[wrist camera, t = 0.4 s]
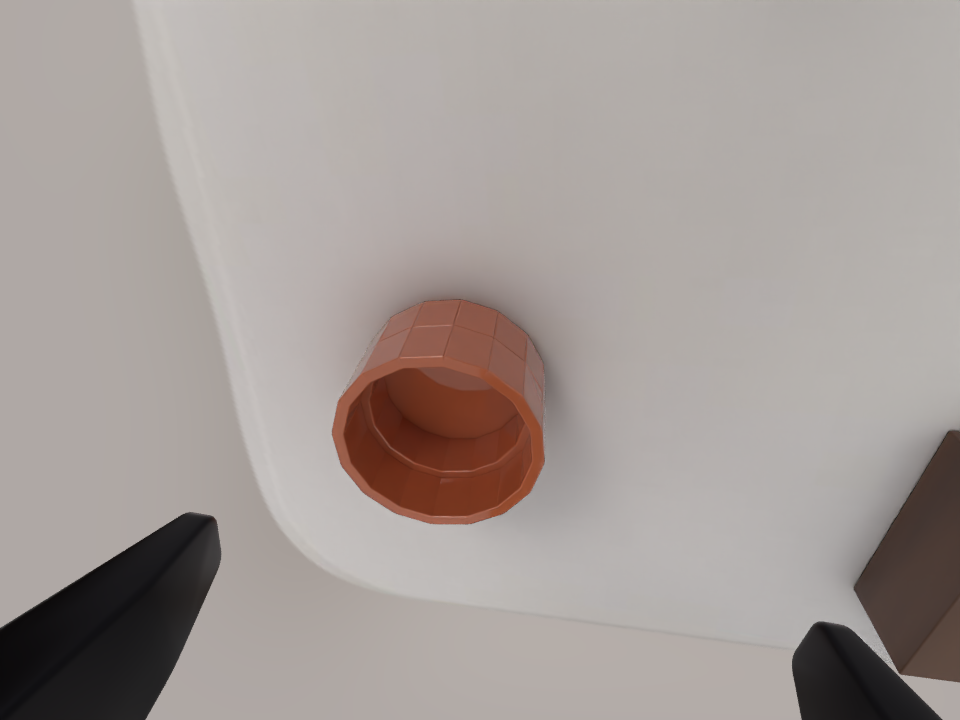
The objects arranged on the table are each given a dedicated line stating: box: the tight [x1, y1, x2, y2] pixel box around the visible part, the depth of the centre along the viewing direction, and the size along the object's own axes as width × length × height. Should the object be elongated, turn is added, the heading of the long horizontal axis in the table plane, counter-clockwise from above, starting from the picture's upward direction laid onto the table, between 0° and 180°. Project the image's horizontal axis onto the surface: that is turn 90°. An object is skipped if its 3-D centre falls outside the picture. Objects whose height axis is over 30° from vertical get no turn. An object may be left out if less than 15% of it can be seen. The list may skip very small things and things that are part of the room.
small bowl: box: [332, 299, 545, 524], centre depth 20 cm, size 7×7×4 cm
